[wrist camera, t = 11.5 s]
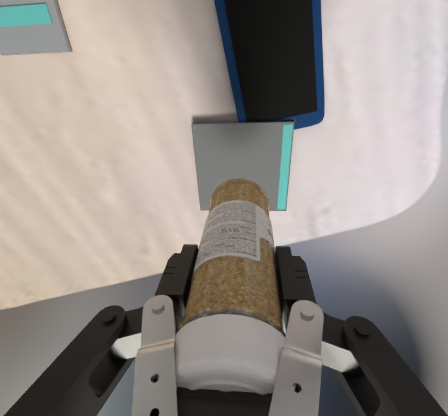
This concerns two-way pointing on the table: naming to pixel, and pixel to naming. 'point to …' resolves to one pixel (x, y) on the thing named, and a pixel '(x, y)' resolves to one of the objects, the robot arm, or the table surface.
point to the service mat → (244, 157)
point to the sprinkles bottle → (233, 298)
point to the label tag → (32, 27)
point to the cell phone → (274, 59)
